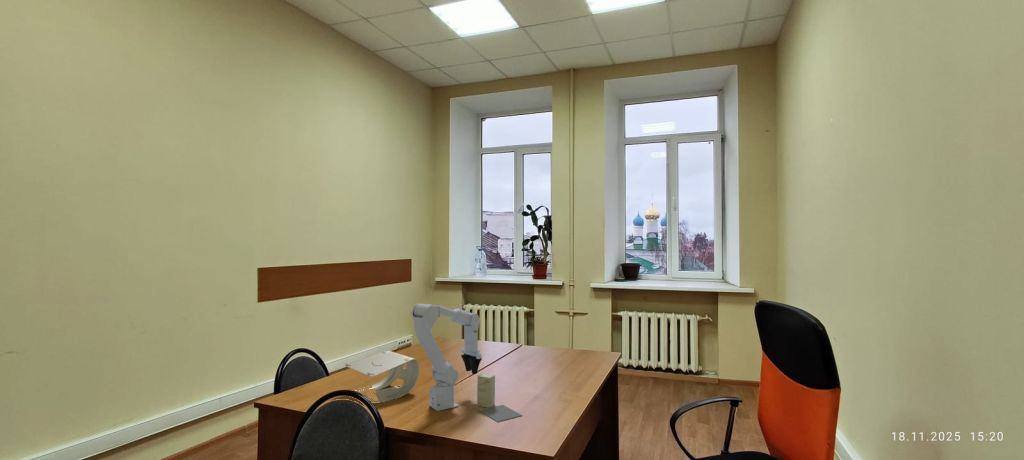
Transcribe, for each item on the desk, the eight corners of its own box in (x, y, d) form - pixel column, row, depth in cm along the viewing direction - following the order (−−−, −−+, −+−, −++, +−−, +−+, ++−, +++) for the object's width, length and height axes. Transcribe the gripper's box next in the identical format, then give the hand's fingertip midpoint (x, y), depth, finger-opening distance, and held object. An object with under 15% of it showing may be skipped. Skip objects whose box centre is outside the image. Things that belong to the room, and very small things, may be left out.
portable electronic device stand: (420, 393, 205) (420, 357, 205) (371, 406, 188) (371, 368, 189) (391, 381, 223) (391, 349, 224) (343, 392, 207) (344, 357, 207)
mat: (497, 422, 170) (497, 421, 170) (479, 411, 182) (479, 410, 182) (522, 415, 176) (522, 415, 176) (502, 405, 188) (502, 404, 188)
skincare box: (476, 405, 187) (476, 375, 188) (482, 402, 191) (482, 373, 192) (490, 408, 185) (489, 377, 185) (495, 404, 188) (495, 374, 189)
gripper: (487, 342, 196) (488, 374, 196) (471, 336, 208) (471, 366, 208) (472, 344, 192) (473, 377, 192) (457, 338, 204) (457, 369, 204)
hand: (471, 372), depth 199 cm, fingers open, 5 cm apart
